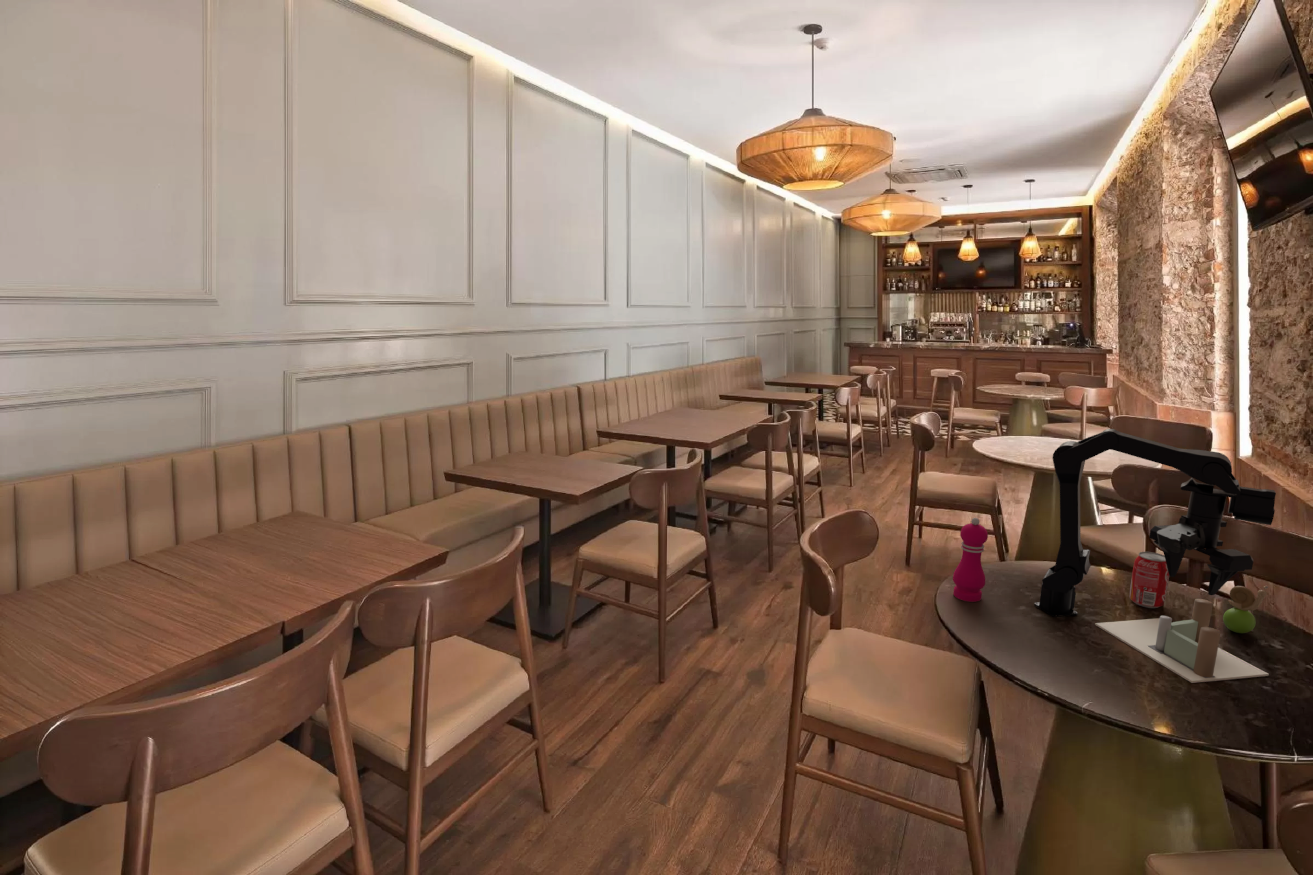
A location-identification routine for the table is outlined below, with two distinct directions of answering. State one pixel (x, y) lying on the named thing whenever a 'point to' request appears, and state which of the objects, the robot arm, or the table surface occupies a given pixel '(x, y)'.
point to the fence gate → (1195, 620)
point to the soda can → (1149, 580)
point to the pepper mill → (970, 563)
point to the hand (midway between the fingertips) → (1191, 585)
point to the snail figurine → (1242, 609)
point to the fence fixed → (1189, 647)
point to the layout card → (1144, 641)
